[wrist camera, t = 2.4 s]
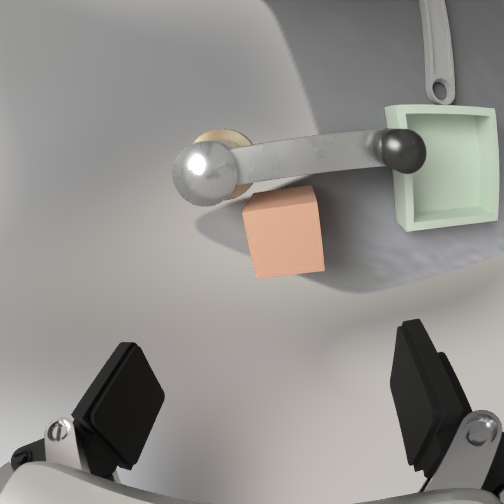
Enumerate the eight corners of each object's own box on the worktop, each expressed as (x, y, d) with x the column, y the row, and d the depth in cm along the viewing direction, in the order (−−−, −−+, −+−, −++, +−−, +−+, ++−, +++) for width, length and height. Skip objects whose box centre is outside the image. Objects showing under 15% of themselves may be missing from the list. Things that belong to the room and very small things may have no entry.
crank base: (251, 122, 23) (249, 122, 22) (264, 191, 25) (263, 194, 24) (183, 137, 24) (179, 138, 23) (198, 202, 26) (195, 205, 25)
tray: (477, 108, 19) (494, 108, 16) (481, 211, 22) (497, 220, 20) (384, 107, 21) (395, 104, 18) (395, 220, 24) (406, 231, 22)
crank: (200, 196, 25) (167, 222, 18) (189, 145, 23) (149, 154, 16) (392, 169, 21) (428, 187, 15) (385, 116, 20) (421, 113, 13)
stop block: (311, 184, 24) (317, 201, 19) (319, 240, 26) (324, 270, 21) (253, 193, 25) (241, 212, 20) (263, 247, 27) (255, 278, 22)
